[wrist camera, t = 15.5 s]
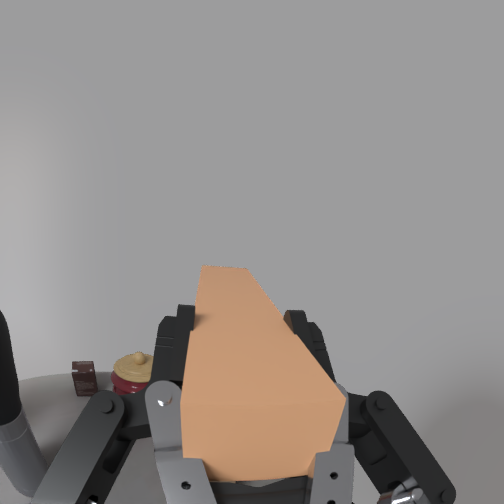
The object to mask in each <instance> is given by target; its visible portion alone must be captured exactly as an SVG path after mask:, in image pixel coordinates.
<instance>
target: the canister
mask: <svg viewBox="0 0 504 504" xmlns="http://www.w3.org/2000/svg"><path fill="white" fill-rule="evenodd" d="M153 357H154V356H151V355H148V354H143V353H142V352H136V353H135V354H130V355H127V356H125V357H123V358H121V359H119V360H118V361H116V363H115V364H114V371H113V372H112V374H111V381H112V383H113V384H114V386H113V392H115V393H116V394H118V395H124V394H130V393H135V392H138V391H140V390H142V389H143V388H144V387H145V386H146V385H147V384H148V382H149V380H150V377H151V370H152V363H153Z"/></svg>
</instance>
